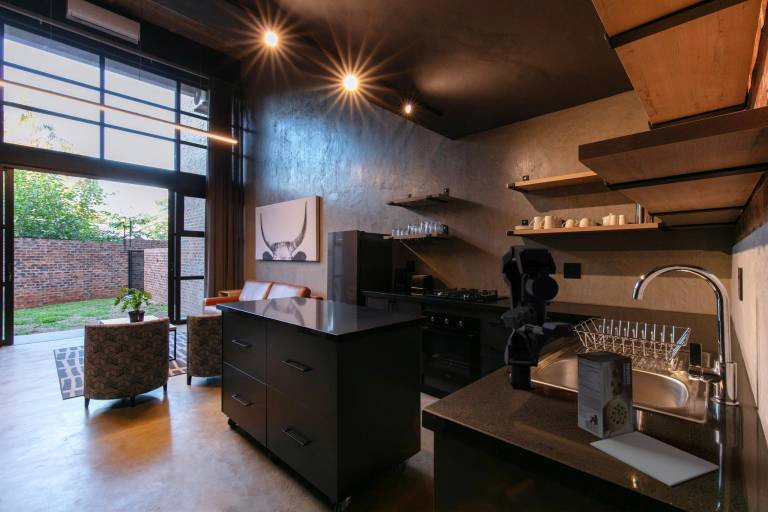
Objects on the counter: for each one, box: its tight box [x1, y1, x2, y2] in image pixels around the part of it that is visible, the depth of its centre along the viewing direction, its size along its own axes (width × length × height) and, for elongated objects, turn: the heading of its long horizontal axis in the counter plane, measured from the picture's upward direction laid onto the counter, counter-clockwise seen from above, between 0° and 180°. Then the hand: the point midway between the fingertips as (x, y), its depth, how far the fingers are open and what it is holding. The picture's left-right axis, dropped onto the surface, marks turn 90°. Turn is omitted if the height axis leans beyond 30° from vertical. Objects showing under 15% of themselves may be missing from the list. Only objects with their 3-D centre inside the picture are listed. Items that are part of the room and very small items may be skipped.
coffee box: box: [576, 350, 634, 440], centre depth 76 cm, size 9×6×16 cm
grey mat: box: [589, 430, 720, 487], centre depth 66 cm, size 14×14×1 cm
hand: (534, 359), depth 88 cm, fingers closed
